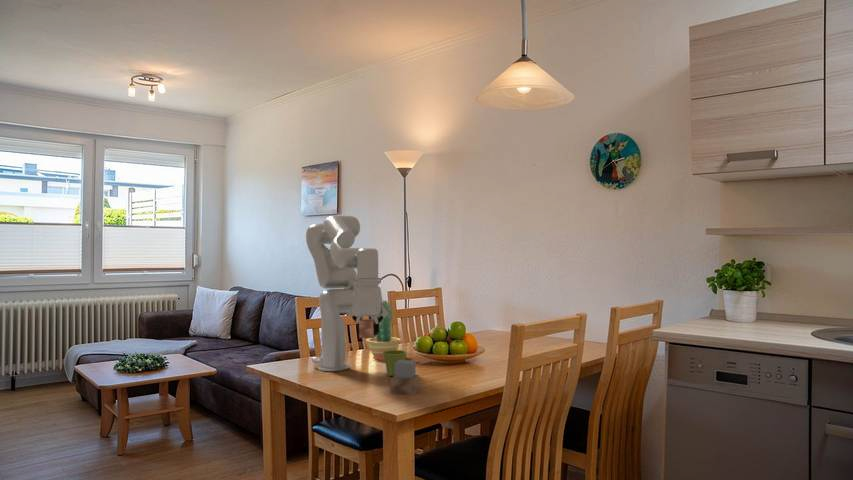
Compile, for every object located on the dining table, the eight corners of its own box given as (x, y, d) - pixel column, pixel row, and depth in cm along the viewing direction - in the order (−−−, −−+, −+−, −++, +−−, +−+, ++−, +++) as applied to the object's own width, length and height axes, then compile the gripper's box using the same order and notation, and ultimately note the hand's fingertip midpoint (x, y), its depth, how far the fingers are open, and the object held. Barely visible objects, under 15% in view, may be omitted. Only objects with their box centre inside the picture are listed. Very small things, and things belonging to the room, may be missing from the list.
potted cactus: (370, 354, 265) (370, 298, 265) (403, 354, 263) (403, 299, 263) (361, 360, 250) (361, 302, 250) (397, 361, 247) (397, 302, 248)
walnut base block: (390, 394, 195) (390, 379, 195) (396, 388, 202) (396, 374, 203) (413, 395, 193) (413, 380, 193) (418, 389, 201) (418, 374, 201)
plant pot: (388, 378, 216) (388, 355, 216) (378, 373, 224) (378, 351, 224) (411, 376, 220) (411, 353, 220) (401, 371, 229) (400, 349, 229)
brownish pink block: (359, 337, 205) (359, 320, 205) (363, 335, 210) (363, 319, 210) (372, 338, 204) (372, 320, 204) (376, 336, 209) (376, 319, 209)
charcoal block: (394, 378, 196) (394, 363, 196) (398, 374, 202) (398, 359, 202) (412, 379, 195) (412, 363, 195) (415, 375, 201) (415, 360, 201)
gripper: (341, 283, 206) (341, 335, 205) (388, 283, 202) (388, 336, 202) (348, 282, 213) (348, 332, 212) (393, 282, 210) (394, 333, 209)
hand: (368, 334), depth 207 cm, fingers closed on brownish pink block, 4 cm apart
